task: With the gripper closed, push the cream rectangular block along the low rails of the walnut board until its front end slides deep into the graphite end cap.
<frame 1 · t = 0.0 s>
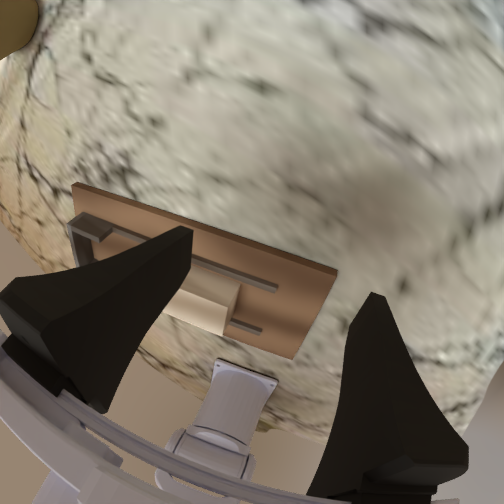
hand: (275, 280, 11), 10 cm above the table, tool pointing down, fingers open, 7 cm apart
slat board: (180, 270, 28), on the table
cream rectangular block: (186, 279, 27), point 1 cm above the table, touching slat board
squeeze bottle: (27, 22, 16), on the table
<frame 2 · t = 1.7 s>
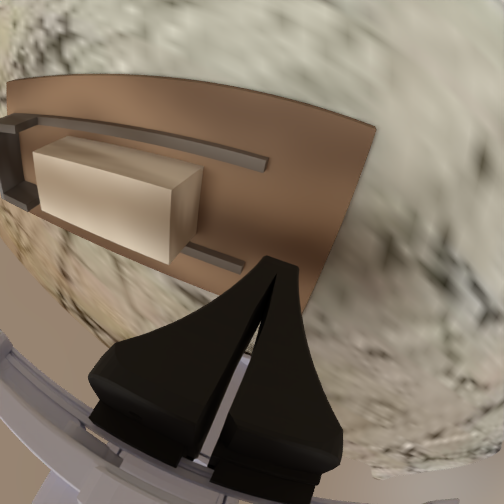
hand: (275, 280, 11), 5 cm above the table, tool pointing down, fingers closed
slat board: (119, 170, 16), on the table
cream rectangular block: (123, 179, 16), point 1 cm above the table, touching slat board
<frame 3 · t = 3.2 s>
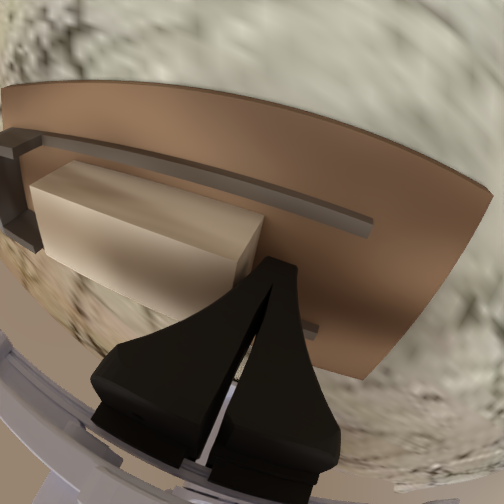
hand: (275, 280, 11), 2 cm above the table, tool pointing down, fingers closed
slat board: (155, 210, 14), on the table
cream rectangular block: (150, 220, 13), point 1 cm above the table, touching gripper
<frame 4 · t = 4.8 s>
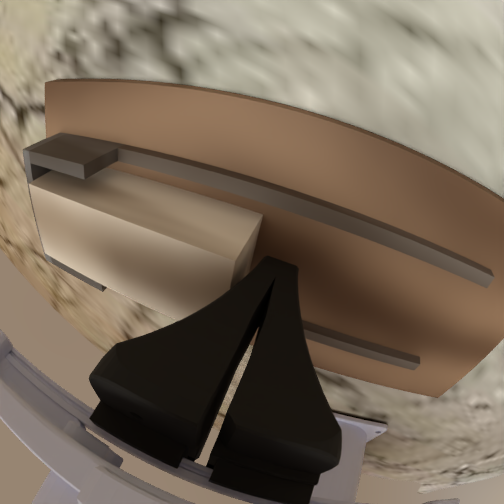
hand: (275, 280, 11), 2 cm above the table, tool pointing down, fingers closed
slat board: (272, 249, 13), on the table
cream rectangular block: (149, 219, 13), point 1 cm above the table, touching gripper, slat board
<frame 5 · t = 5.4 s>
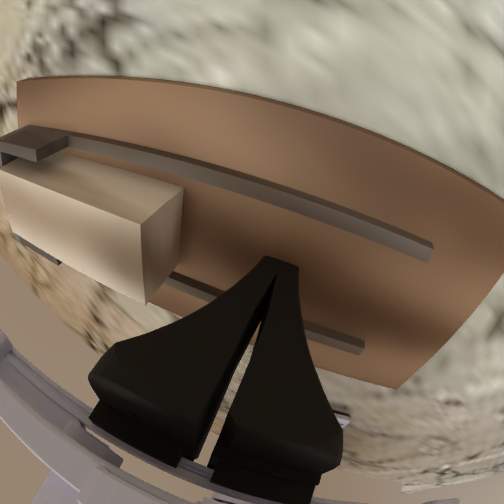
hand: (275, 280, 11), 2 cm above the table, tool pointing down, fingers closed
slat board: (201, 223, 13), on the table
cream rectangular block: (97, 198, 13), point 1 cm above the table, touching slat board
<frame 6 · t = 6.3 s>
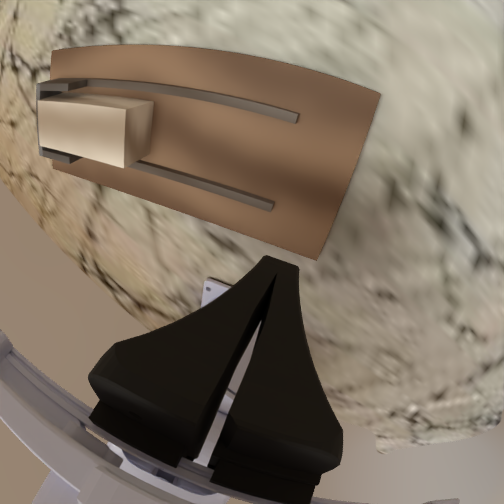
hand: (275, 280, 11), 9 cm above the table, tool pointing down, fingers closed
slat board: (164, 126, 19), on the table
cream rectangular block: (101, 119, 19), point 1 cm above the table, touching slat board
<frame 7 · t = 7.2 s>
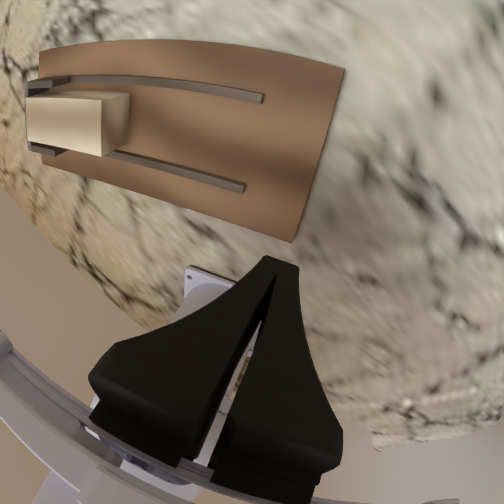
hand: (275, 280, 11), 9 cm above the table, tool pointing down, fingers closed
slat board: (141, 117, 19), on the table
cream rectangular block: (84, 113, 19), point 1 cm above the table, touching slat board
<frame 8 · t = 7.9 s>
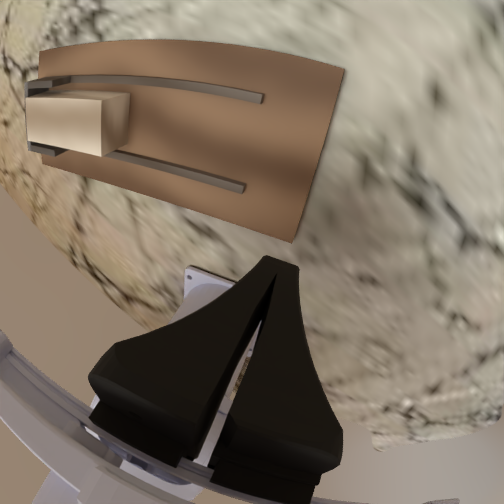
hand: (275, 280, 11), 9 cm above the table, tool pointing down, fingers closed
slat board: (141, 117, 19), on the table
cream rectangular block: (84, 113, 19), point 1 cm above the table, touching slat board
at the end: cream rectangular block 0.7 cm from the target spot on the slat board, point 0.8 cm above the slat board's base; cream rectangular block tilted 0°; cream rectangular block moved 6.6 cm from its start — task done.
